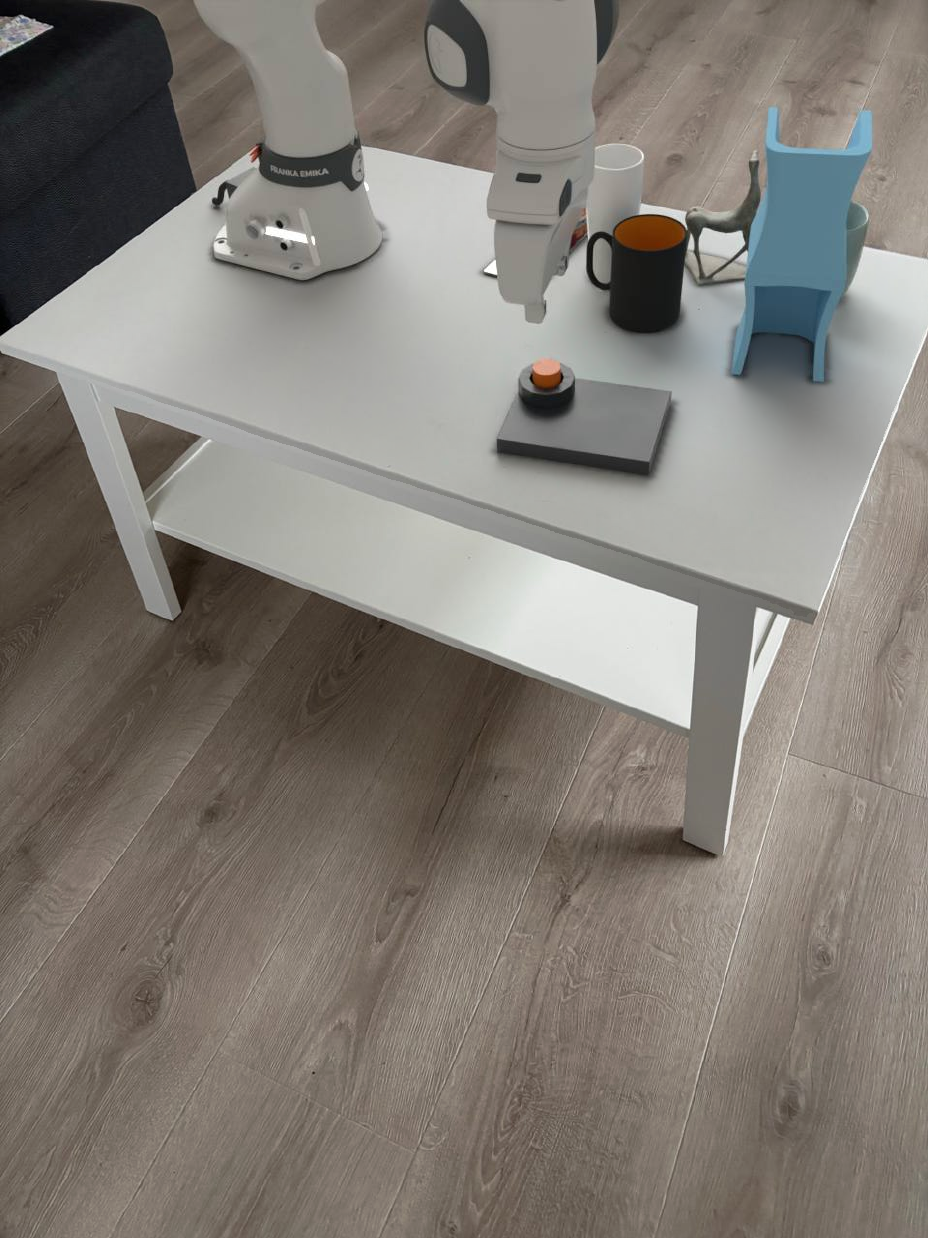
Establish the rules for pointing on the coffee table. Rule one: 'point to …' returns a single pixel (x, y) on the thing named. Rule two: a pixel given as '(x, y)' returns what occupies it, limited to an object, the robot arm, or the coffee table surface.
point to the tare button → (546, 373)
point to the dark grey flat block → (586, 422)
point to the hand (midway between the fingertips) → (547, 294)
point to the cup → (855, 239)
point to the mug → (643, 271)
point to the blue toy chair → (800, 240)
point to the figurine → (725, 222)
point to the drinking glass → (612, 198)
